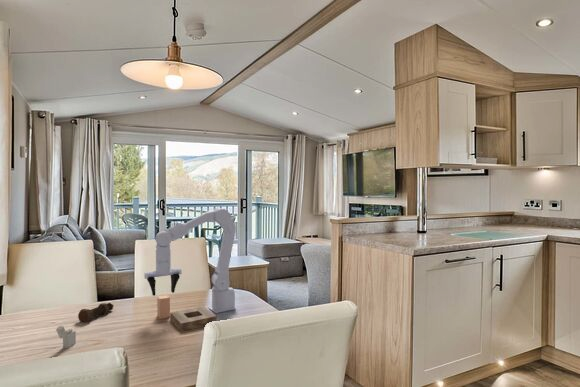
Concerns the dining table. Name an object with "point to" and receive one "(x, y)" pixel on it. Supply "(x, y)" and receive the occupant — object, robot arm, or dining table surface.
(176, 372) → the dining table surface
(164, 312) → the peg
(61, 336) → the grey thin upright piece
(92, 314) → the dark brown elongated piece
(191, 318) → the slot block
